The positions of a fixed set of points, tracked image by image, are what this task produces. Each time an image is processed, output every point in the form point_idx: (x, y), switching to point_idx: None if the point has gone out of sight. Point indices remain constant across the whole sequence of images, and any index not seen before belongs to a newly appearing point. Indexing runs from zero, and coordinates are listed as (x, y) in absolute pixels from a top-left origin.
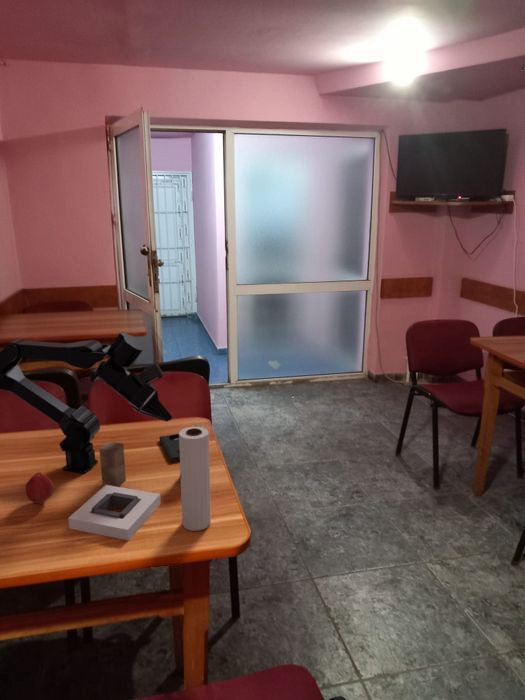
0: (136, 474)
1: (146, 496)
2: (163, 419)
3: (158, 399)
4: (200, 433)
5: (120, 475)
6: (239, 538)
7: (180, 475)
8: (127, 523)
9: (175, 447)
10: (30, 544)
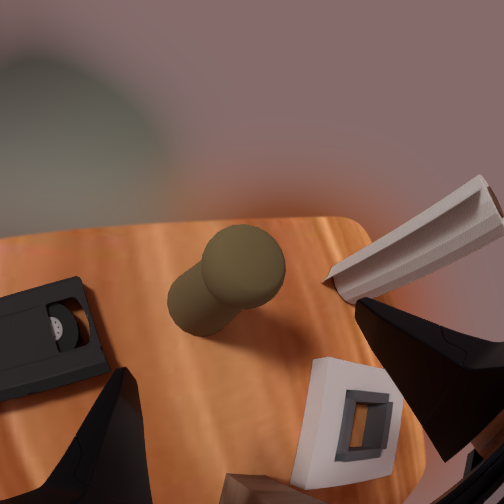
0: (190, 458)
1: (338, 383)
2: (138, 406)
3: (498, 342)
4: (491, 191)
5: (261, 482)
6: (359, 226)
7: (217, 330)
8: None
9: (35, 357)
10: (397, 489)
